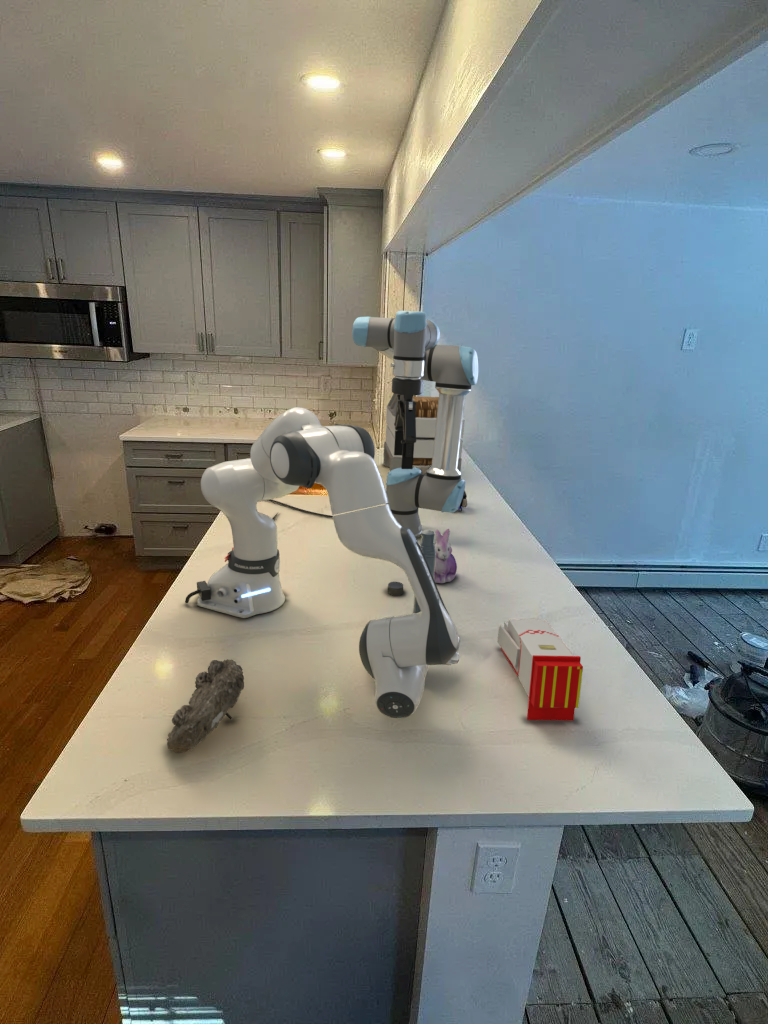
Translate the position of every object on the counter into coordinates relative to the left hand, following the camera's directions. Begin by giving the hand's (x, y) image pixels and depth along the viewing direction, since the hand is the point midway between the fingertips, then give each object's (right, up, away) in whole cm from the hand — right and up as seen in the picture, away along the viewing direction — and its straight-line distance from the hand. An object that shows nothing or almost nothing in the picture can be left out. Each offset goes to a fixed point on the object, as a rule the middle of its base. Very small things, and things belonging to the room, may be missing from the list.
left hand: (417, 624), depth 131 cm
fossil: (-40, -13, -23) cm, 48 cm away
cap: (-4, +5, +27) cm, 28 cm away
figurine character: (+22, +28, +99) cm, 105 cm away
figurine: (+10, +6, +38) cm, 40 cm away
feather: (-48, +24, +80) cm, 96 cm away
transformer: (+10, +45, +144) cm, 151 cm away
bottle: (+2, -2, +13) cm, 13 cm away
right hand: (-3, +39, +15) cm, 42 cm away
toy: (+24, -10, -7) cm, 27 cm away
